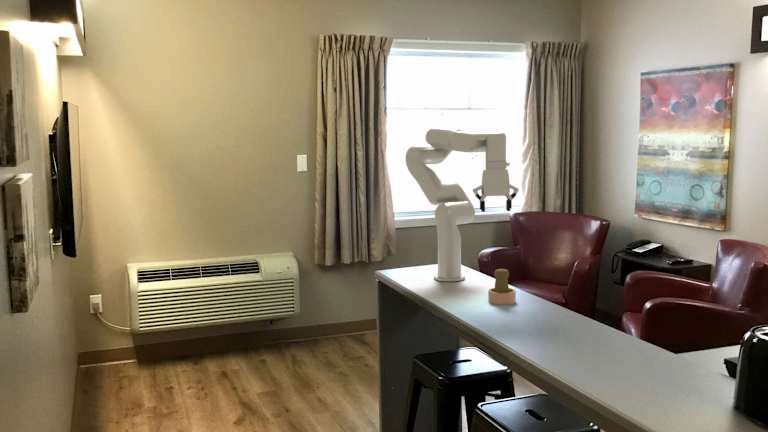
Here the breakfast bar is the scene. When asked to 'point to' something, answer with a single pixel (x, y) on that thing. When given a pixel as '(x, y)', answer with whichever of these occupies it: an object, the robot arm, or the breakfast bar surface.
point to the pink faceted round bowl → (502, 297)
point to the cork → (501, 281)
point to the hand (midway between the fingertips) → (495, 211)
